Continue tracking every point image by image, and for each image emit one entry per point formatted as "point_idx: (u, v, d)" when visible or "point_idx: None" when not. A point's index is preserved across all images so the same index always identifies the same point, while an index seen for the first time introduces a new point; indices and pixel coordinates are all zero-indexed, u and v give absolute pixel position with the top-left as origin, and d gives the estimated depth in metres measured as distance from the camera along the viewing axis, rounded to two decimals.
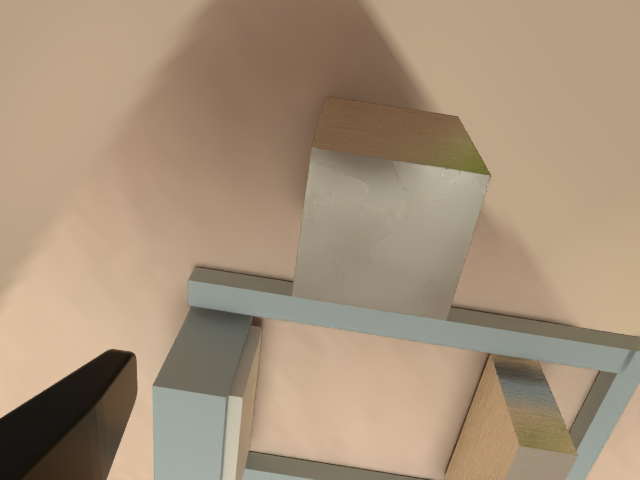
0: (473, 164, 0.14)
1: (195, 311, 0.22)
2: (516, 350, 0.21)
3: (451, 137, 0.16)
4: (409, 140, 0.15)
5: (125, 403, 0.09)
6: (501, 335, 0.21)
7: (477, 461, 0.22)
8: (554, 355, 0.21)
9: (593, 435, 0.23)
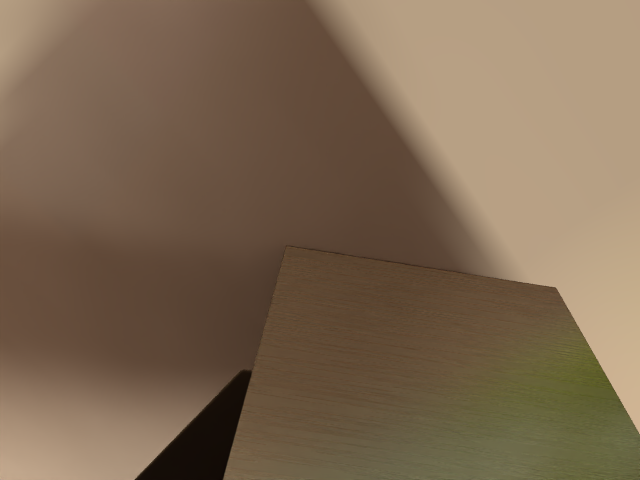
0: None
1: None
2: None
3: (575, 400, 0.07)
4: (484, 448, 0.06)
5: None
6: None
7: None
8: None
9: None
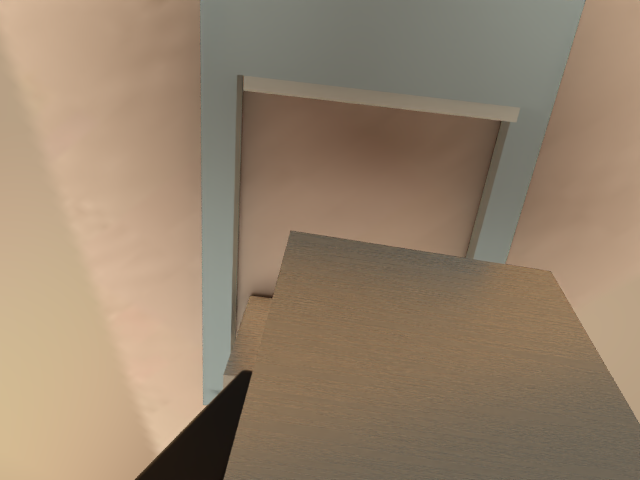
0: None
1: None
2: None
3: (567, 372, 0.07)
4: (479, 414, 0.06)
5: None
6: None
7: None
8: None
9: None
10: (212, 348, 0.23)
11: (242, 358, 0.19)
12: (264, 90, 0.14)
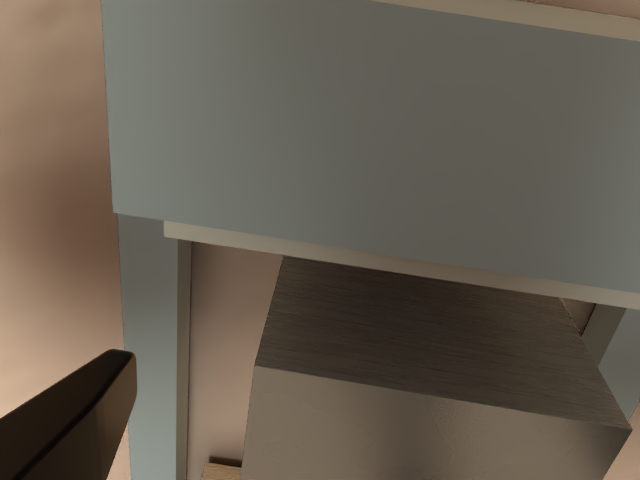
0: (585, 386, 0.07)
1: None
2: None
3: None
4: (450, 309, 0.08)
5: (125, 403, 0.09)
6: None
7: None
8: None
9: None
10: None
11: None
12: (207, 238, 0.07)
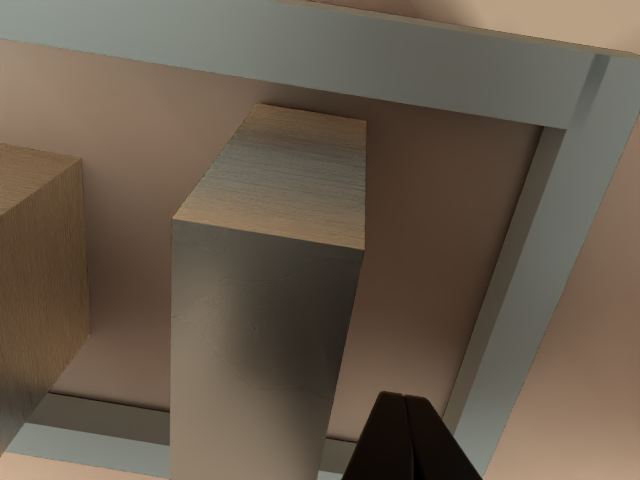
0: None
1: None
2: (317, 68, 0.09)
3: None
4: None
5: None
6: (272, 21, 0.08)
7: None
8: (410, 81, 0.09)
9: (521, 305, 0.10)
10: None
11: None
12: None
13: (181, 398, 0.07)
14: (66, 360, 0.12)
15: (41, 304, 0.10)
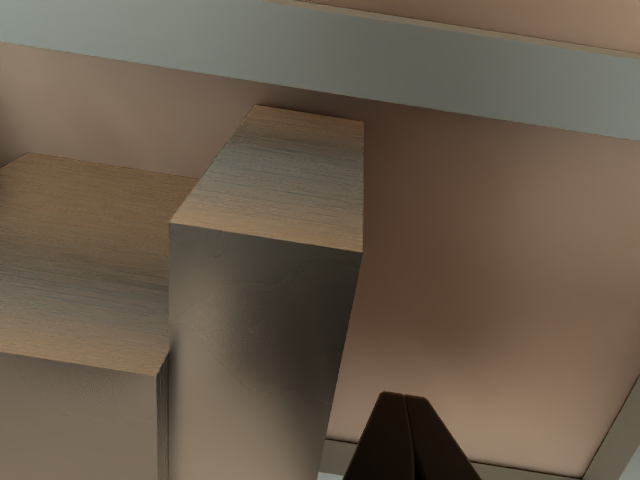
0: None
1: None
2: (561, 108, 0.09)
3: None
4: None
5: None
6: (525, 61, 0.08)
7: None
8: None
9: None
10: None
11: None
12: None
13: (179, 402, 0.07)
14: None
15: None
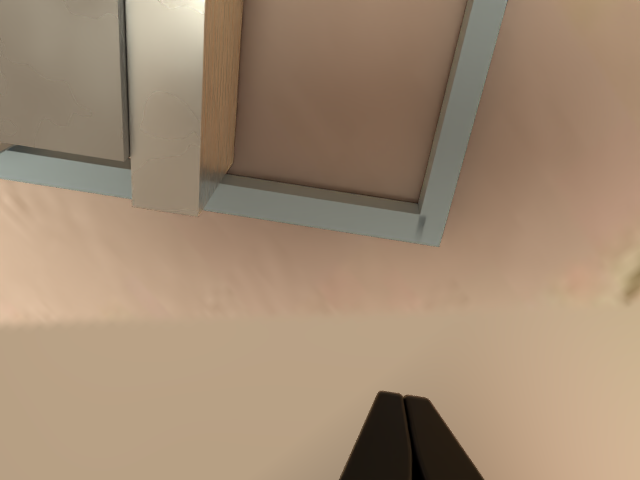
0: None
1: None
2: None
3: None
4: None
5: None
6: None
7: None
8: None
9: (469, 62, 0.17)
10: (354, 224, 0.20)
11: None
12: None
13: (131, 18, 0.14)
14: None
15: None
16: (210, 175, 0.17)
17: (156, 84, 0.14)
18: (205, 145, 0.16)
